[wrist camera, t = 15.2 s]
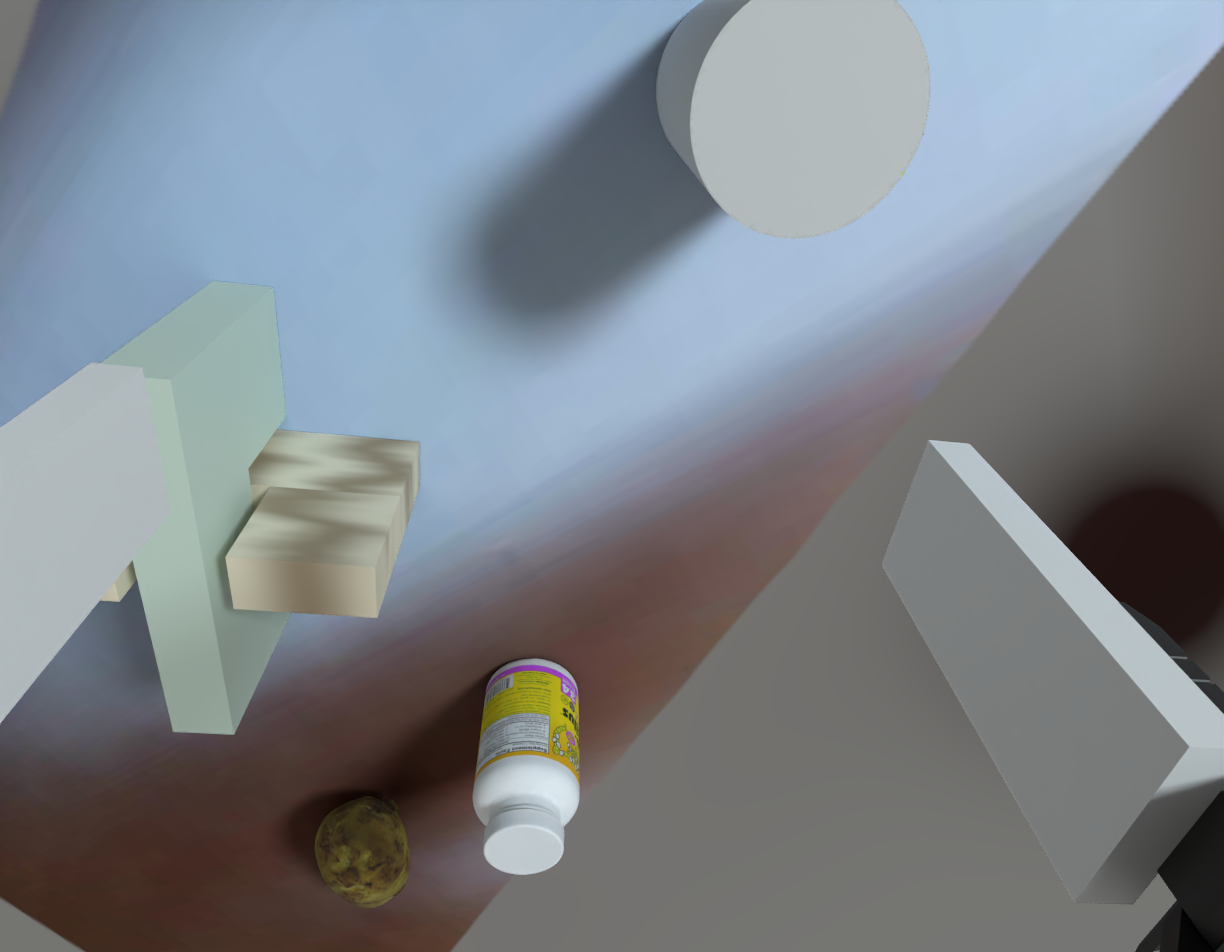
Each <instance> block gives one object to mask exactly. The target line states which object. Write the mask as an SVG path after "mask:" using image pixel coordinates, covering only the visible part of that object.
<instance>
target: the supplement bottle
mask: <svg viewBox="0 0 1224 952" xmlns="http://www.w3.org/2000/svg"><path fill="white" fill-rule="evenodd" d="M578 803H579V709H578V689H577V686H576V683H575V681H574V679H573V677H572V676H571V675H570V673H569V672H568V671H567V670H565V669H564V668H563V667H561V666H560V665H558V664H556V663H554V662H551V661H548V660H544V659H537V658H531V659H522V660H517V661H514V662H511V663H508V664H506V665H505V666H503V667H501V668H500V669H499V670H498V671H496V672H495V674H494V675H493V676H492V677H491V679H490V681H489V683H488V685H487V688H486V695H485V702H484V710H483V718H482V726H481V734H480V742H479V750H478V759H477V766H476V774H475V782H474V790H473V805H474V809H475V811H476V814H477V815H478V817H479V819H480V820H481V821H482V822H483V824H484V825H485V826H486V828H485V832H484V847H483V851H484V855H485V858H486V859H487V861H488V862H489V863H490V864H491V865H492V866H493V867H495V868H497V869H499V870H501V871H503V872H507V873H511V874H521V875H523V874H533V873H538V872H541V871H544V870H546V869H549V868H550V867H552V866H553V865H555V864H556V863H557V862H558V861H559V860H560V858H561V856H562V854H563V850H564V829H563V827H564V826H565V825H566V824H567V823H568V822H569V821H570V819H571V818H572V817H573V815H574V813H575V811H576V809H577V806H578Z"/></svg>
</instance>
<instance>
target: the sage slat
mask: <svg viewBox="0 0 1224 952" xmlns="http://www.w3.org/2000/svg"><path fill="white" fill-rule="evenodd" d="M100 364H110V365H121V366H132V367H143V372H144V377H145V382H146V387H147V392H148V397H149V402H150V407H151V412H152V417H153V422H154V428H155V433H156V438H157V443H158V448H159V453H160V458H161V463H162V468H163V473H164V478H165V483H166V488H167V493H168V498H169V503H170V508H171V513H170V514H169V516H168V517H167V518H166V519H165V521H164V522H163V523H162V524H161V526H160V527H159V528H158V529H157V530H156V532H155V533H154V534H153V535H152V537H151V538H150V539H149V540H148V542H147V543H146V544H145V545H144V547H143V548H142V549H141V550H140V551H139V553H138V554H137V555H136V556H135V558H134V559H133V564H134V568H135V573H136V577H137V581H138V585H139V590H140V594H141V598H142V602H143V606H144V611H145V615H146V619H147V623H148V628H149V632H150V636H151V640H152V644H153V649H154V653H155V657H156V661H157V666H158V670H159V674H160V678H161V682H162V687H163V691H164V695H165V699H166V703H167V708H168V712H169V716H170V720H171V725H172V729H173V732H189V733H211V734H232V735H234V734H235V731H236V729H237V727H238V725H239V723H240V721H241V719H242V717H243V714H244V712H245V710H246V708H247V706H248V704H249V702H250V700H251V697H252V695H253V693H254V691H255V689H256V687H257V685H258V683H259V680H260V678H261V676H262V674H263V672H264V670H265V668H266V666H267V663H268V661H269V659H270V657H271V655H272V653H273V651H274V649H275V646H276V644H277V642H278V640H279V638H280V636H281V634H282V632H283V629H284V627H285V625H286V623H287V621H288V619H289V617H290V615H291V612H275V611H259V610H243V609H234V608H233V602H232V595H231V589H230V583H229V577H228V571H227V565H226V558H225V557H226V555H227V553H228V552H229V550H230V549H231V547H232V546H233V544H234V543H235V541H236V539H237V538H238V536H239V535H240V533H241V532H242V530H243V529H244V527H245V525H246V524H247V522H248V521H249V519H250V518H251V516H252V515H253V513H254V508H253V500H252V493H251V485H250V478H249V470H248V468H249V467H250V466H251V464H252V463H253V462H254V460H255V459H256V457H257V456H258V455H259V453H260V452H261V450H262V449H263V448H264V446H265V445H266V443H267V442H268V441H269V439H270V438H271V436H272V435H273V434H274V432H275V431H276V429H277V428H278V427H279V425H280V424H281V422H282V421H283V420H284V418H285V417H286V408H285V398H284V388H283V378H282V368H281V358H280V348H279V338H278V328H277V318H276V308H275V298H274V288H273V287H268V286H258V285H249V284H239V283H230V282H220V281H212V282H211V283H210V284H208V285H207V286H205V287H204V288H203V289H201V290H200V291H199V292H197V293H196V294H195V295H193V296H192V297H190V298H189V299H188V300H186V301H185V302H184V303H182V304H181V305H180V306H178V307H177V308H175V309H174V310H173V311H171V312H170V313H169V314H167V315H166V316H164V317H163V318H162V319H160V320H159V321H158V322H156V323H155V324H154V325H152V326H151V327H149V328H148V329H147V330H145V331H144V332H143V333H141V334H140V335H138V336H137V337H136V338H134V339H133V340H132V341H130V342H129V343H128V344H126V345H125V346H123V347H122V348H121V349H119V350H118V351H117V352H115V353H114V354H112V355H111V356H110V357H108V358H107V359H106V360H104V361H103V362H102V363H100Z"/></svg>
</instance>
